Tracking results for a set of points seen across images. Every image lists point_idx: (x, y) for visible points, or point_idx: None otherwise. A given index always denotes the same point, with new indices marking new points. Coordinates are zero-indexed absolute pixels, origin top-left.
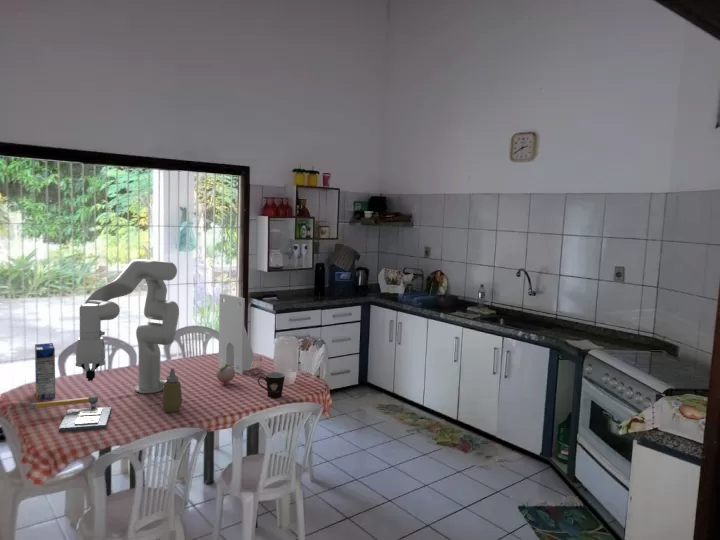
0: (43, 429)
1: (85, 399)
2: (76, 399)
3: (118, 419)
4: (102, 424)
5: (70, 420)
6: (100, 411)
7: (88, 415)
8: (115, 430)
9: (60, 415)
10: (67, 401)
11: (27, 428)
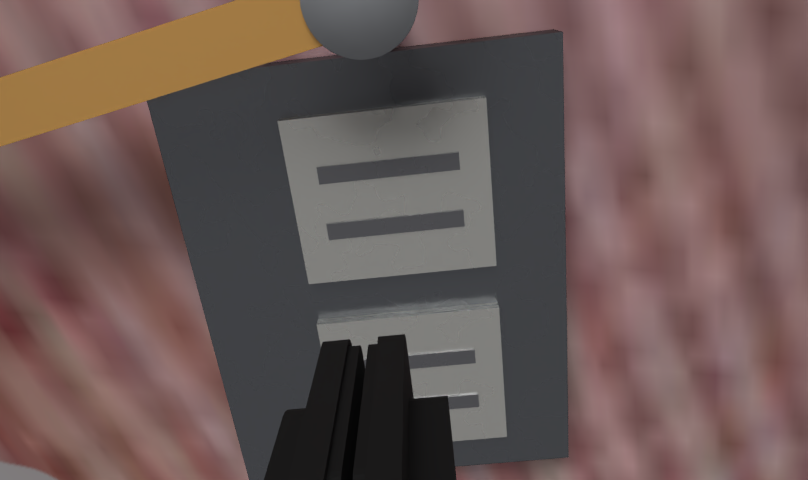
0: (129, 411)
1: (282, 57)
2: (177, 67)
3: (640, 275)
4: (543, 451)
5: (276, 358)
6: (483, 204)
7: (392, 273)
8: (631, 469)
9: (112, 133)
10: (97, 114)
11: (5, 385)
